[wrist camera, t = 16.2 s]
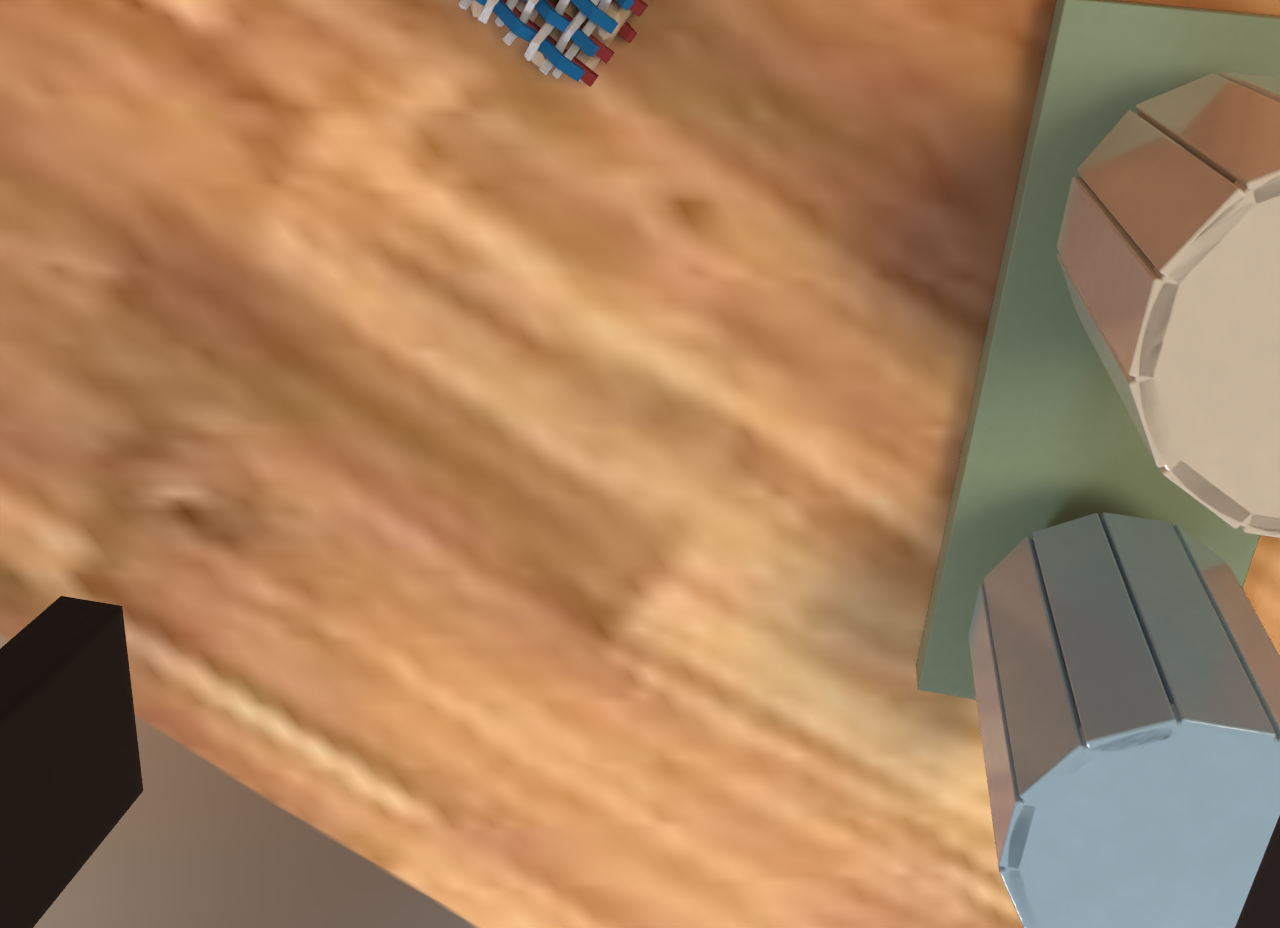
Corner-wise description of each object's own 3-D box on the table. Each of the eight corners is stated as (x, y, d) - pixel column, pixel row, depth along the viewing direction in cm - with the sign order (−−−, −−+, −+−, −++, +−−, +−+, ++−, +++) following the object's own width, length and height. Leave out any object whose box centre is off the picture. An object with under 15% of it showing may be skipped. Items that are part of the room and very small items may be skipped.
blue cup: (933, 785, 39) (951, 1042, 30) (1000, 496, 35) (1043, 695, 26) (1177, 828, 38) (1271, 1107, 29) (1277, 536, 34) (1423, 758, 25)
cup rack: (915, 665, 42) (932, 963, 30) (1057, -6, 33) (1162, 35, 21) (1183, 710, 41) (1311, 1037, 29) (1405, 27, 32) (1729, 90, 20)
